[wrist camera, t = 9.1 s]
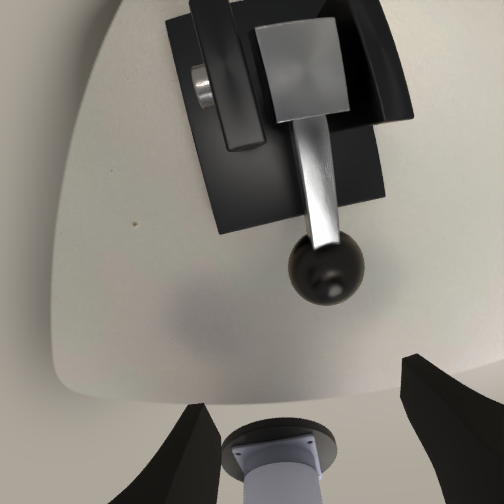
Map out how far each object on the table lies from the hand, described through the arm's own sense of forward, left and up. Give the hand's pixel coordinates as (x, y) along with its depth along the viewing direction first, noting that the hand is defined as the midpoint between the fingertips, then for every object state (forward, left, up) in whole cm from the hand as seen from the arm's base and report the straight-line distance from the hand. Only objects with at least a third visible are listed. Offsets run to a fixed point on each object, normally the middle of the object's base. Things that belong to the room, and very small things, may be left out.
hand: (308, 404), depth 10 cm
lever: (+8, -2, -4) cm, 9 cm away
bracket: (+11, -2, -9) cm, 14 cm away
